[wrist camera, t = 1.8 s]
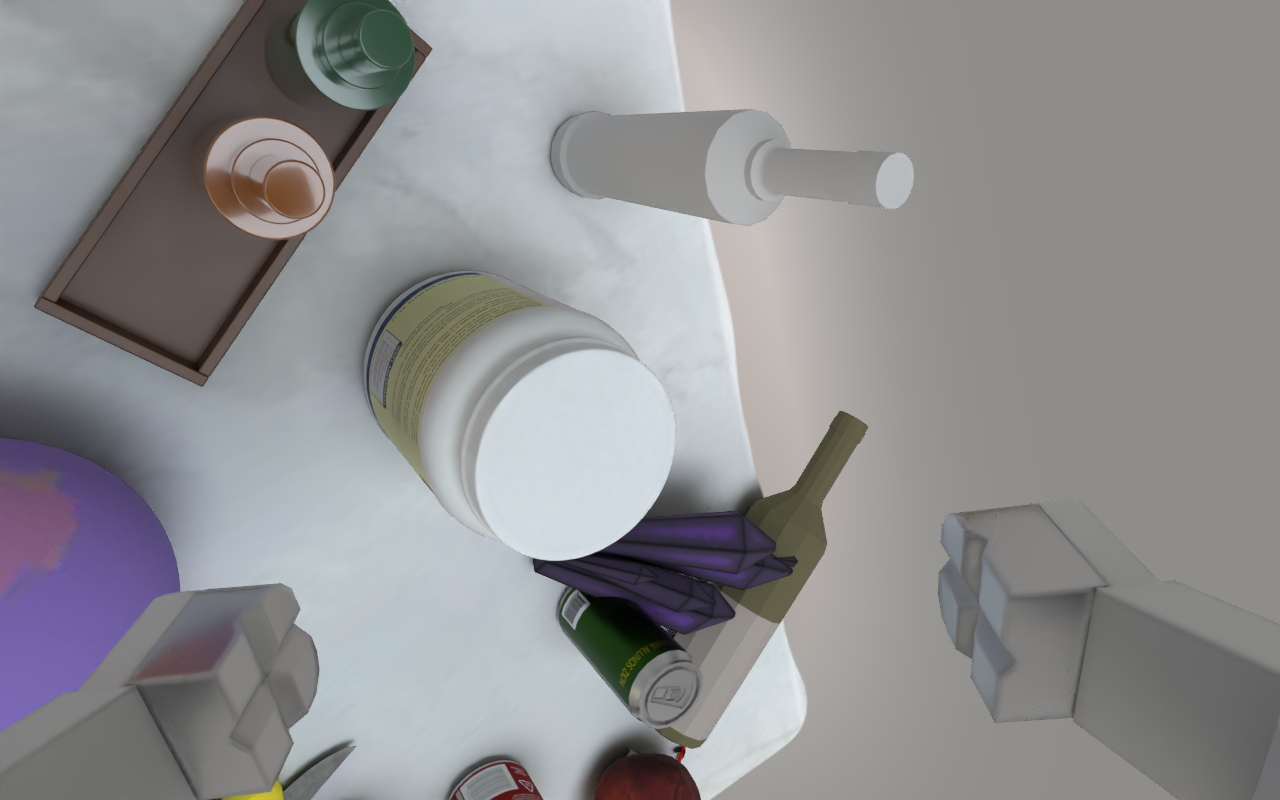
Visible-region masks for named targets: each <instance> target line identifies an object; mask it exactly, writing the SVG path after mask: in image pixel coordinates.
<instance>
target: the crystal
mask: <svg viewBox="0 0 1280 800" xmlns="http://www.w3.org/2000/svg"><path fill="white" fill-rule="evenodd" d="M775 550H776V542H775V541H774V540H773V539H771V538H770V537H769V536H768V535H767V534H765V533H764V532H763V531H762V530H761V529H760V528H758V527H757V526H756V525H755V524H754V523H753V522H751V521H750V520H749V519H748V518H747V517H745V516H744V515H743V514H741V513H738V512H735V511H726V512H713V513H701V514H689V515H676V516H664V517H652V518H642V519H641V520H640V521H639V522H638V523H637V525H636V526H635V527H633V528H632V529H631V530H630V531H629V532H628V533H627V534H625V535H624V536H623V537H621V538H620V539H619V540H617V541H616V542H614V543H612V544H611V545H609V546H607V547H605V548H604V549H602V550H600V551H597V552H595V553H592V554H590V555H587V556H584V557H580V558H576V559H570V560H562V561H548V560H541V559H536V558H534V559H533V564H534V570H535V572H536V573H539V574H541V575H543V576H546V577H548V578H551V579H553V580H555V581H558V582H560V583H562V584H565V585H567V586H569V587H572V588H574V589H577V590H579V591H581V592H584V593H586V594H588V595H591V596H593V597H601V596H604V597H619V598H624V599H628V600H631V601H633V602H635V603H637V604H638V605H639V606H640V607H641V608H642V609H644V610H645V611H646V612H647V613H648V614H649V615H650V616H651V617H652V618H653V619H654V620H655V621H656V622H657V623H658V624H659V625H661V626H664V627H666V628H668V629H671V630H673V631H676V632H678V633H680V634H683V635H686V634H689V633H692V632H695V631H698V630H701V629H704V628H707V627H710V626H713V625H716V624H719V623H722V622H725V621H728V620H731V619H733V618H734V617H735V614H736V612H735V611H734V609H733V608H732V607H731V606H730V604H729V603H728V602H727V601H726V599H725V598H724V597H723V596H722V594H721V593H720V592H719V591H718V589H717V588H716V587H715V586H714V584H710V583H706V582H701V581H697V580H694V579H693V578H691V577H695V578H699V579H703V580H706V581H710V582H714V583H717V584H721V585H725V586H728V587H732V588H736V589H739V590H746V589H749V588H752V587H756V586H759V585H762V584H765V583H768V582H771V581H774V580H777V579H780V578H783V577H787V576H790V575H791V574H792V573H793V569H792V568H791V567H794V566H795V565H796V564H797V563H798V560H797V559H796V557H795V556H791V557H776V556H775V555H773V554H772V553H773V552H775ZM654 566H655V567H654ZM790 566H791V567H790ZM657 567H658V568H657ZM661 568H662V569H661ZM664 569H666V570H664ZM668 570H669V571H668ZM671 571H673V572H671ZM674 572H677V573H674ZM678 573H680V574H678ZM681 574H684V575H688V576H691V577H688V576H684V575H681Z"/></svg>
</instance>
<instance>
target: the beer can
mask: <svg viewBox="0 0 1280 800" xmlns="http://www.w3.org/2000/svg"><path fill="white" fill-rule="evenodd" d="M559 622H560V626H561V628H562V630H563V632H564V633H565V634H566V635H567V637H568V638H569V639H570V640H571V641H572V643H573V644H574V645H575V646H576V647H577V649H578V650H579V651H580V652H581V653H582V655H583V656H584V657H585V658H586V659H587V661H588V662H589V663H590V664H591V665H592V667H593V668H594V669H595V670H596V672H597V673H598V674H599V675H600V676H601V678H602V679H603V680H604V681H605V682H606V684H607V685H608V686H609V687H610V688H611V690H612V691H613V692H614V693H615V694H616V696H617V697H618V698H619V699H620V700H621V702H622V703H623V704H624V705H625V706H626V708H627V709H628V710H629V711H630V713H631V714H632V715H633V716H634V717H636V718H637V719H638V720H639V721H643V722H644V723H645V724H646V725H647V726H649V727H650V728H655V729H661V728H667V727H669V726H671V725H674V724H676V723H678V722H679V721H680V720H681V719H683V718H684V717H685V716H686V715H687V714H688V713H689V712H690V711H691V710H692V708H693V707H694V706H695V704H696V702H697V700H698V699H699V697H700V694H701V690H702V687H703V676H702V673H701V671H700V669H699V668H698V667H697V666H696V663H695V660H694V658H693V657H692V656H691V655H690V654H689V653H688V652H687V651H686V650H685V649H684V648H683V647H682V646H681V645H680V644H679V643H677V642H676V641H675V640H674V639H673V638H672V637H671V636H670V635H669V634H668V633H667V632H666V631H665V630H664V629H663V628H662V627H661V626H660V625H659V624H658V623H657V622H656V621H655V620H654V619H653V618H652V617H651V616H650V615H649V614H648V613H647V612H646V611H645V610H644V609H642V608H641V607H640V606H639V605H638V604H637V603H635V602H633V601H631V600H628V599H624V598H619V597H604V596H601V597H593V596H591V595H588V594H586V593H584V592H581V591H579V590H577V589H574V588H572V587H569V588H568V589H567V590H566V591H565V593H564V595H563V597H562V598H561V601H560V605H559Z"/></svg>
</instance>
